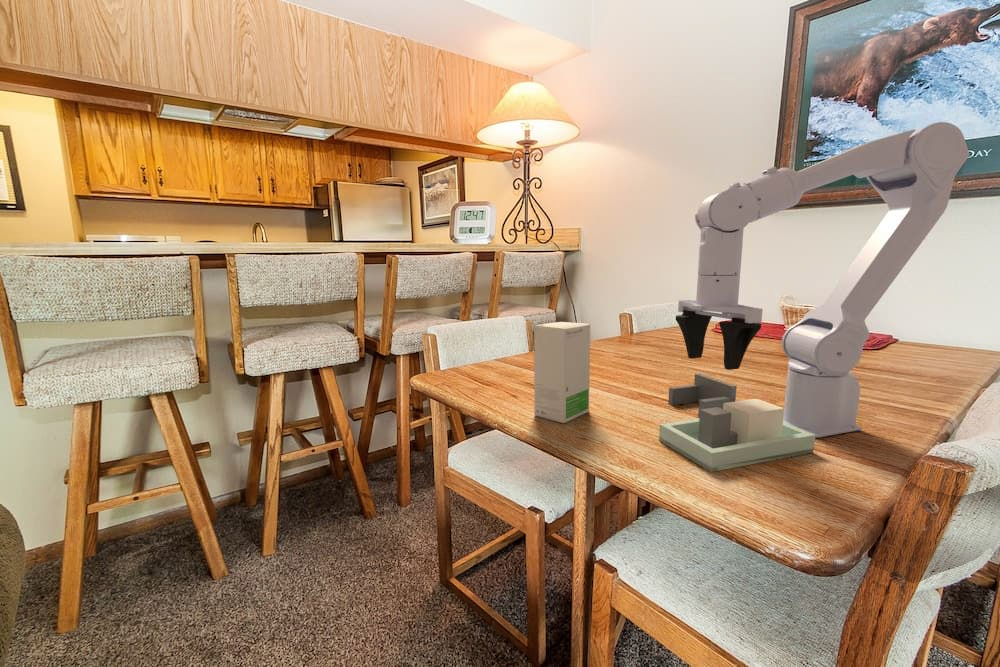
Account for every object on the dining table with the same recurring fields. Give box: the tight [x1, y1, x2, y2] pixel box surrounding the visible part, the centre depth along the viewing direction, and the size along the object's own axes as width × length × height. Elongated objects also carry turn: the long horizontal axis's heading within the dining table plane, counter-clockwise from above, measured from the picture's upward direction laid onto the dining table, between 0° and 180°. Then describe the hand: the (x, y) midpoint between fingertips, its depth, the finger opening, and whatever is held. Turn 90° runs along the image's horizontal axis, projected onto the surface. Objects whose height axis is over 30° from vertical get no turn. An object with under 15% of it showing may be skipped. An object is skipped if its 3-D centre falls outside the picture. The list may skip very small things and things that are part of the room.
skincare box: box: [533, 321, 591, 424], centre depth 73 cm, size 8×7×16 cm
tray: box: [658, 418, 816, 473], centre depth 61 cm, size 17×10×2 cm, turn 107°
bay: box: [667, 373, 737, 419], centre depth 75 cm, size 6×8×5 cm
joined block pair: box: [698, 398, 784, 449], centre depth 60 cm, size 11×4×5 cm, turn 107°
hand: (712, 363), depth 67 cm, fingers open, 7 cm apart
